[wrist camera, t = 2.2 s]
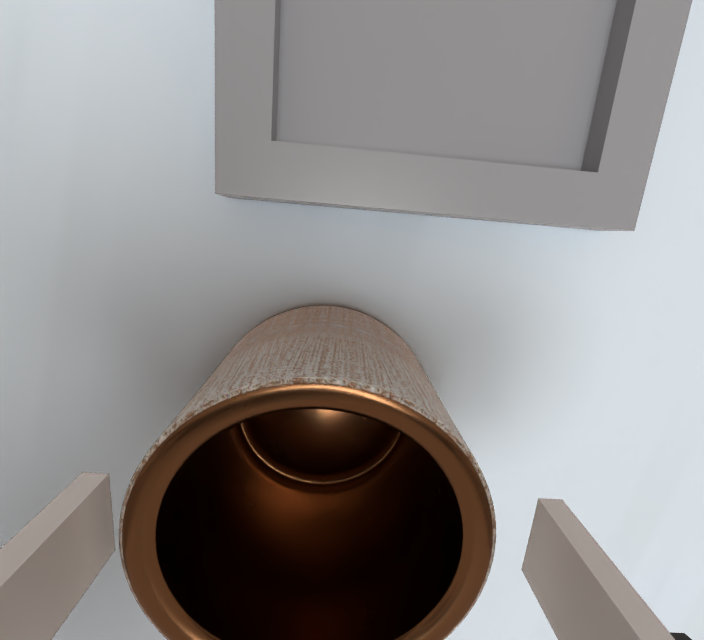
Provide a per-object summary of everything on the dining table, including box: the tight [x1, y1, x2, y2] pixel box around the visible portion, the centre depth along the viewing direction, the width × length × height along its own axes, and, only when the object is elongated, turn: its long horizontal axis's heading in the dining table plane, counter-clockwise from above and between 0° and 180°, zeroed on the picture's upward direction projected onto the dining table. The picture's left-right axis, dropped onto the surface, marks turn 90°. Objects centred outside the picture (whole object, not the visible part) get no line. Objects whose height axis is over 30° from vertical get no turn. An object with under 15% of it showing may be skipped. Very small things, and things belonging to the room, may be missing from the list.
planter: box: [119, 306, 496, 640], centre depth 15 cm, size 11×11×10 cm
